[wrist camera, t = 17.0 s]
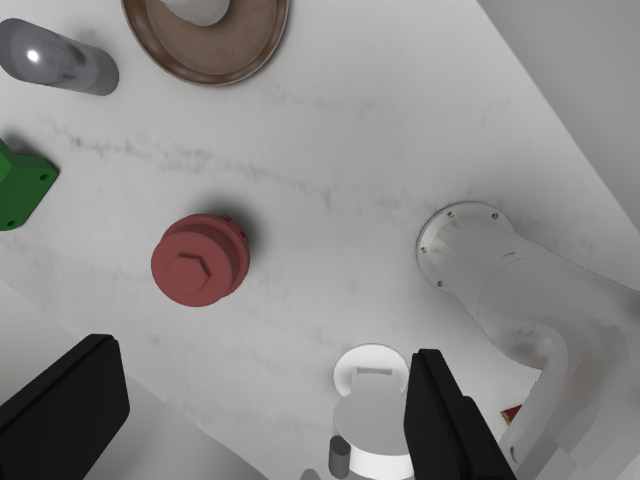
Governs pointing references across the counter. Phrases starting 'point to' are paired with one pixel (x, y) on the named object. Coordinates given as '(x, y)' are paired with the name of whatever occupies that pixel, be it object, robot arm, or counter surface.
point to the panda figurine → (370, 415)
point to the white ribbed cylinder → (198, 10)
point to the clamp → (21, 185)
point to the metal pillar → (54, 59)
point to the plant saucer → (208, 39)
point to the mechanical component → (201, 259)
